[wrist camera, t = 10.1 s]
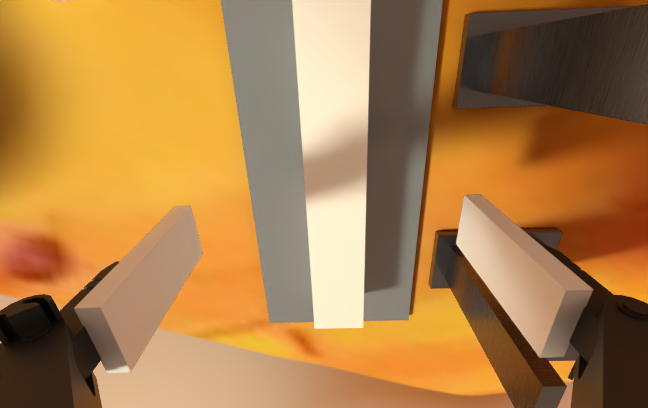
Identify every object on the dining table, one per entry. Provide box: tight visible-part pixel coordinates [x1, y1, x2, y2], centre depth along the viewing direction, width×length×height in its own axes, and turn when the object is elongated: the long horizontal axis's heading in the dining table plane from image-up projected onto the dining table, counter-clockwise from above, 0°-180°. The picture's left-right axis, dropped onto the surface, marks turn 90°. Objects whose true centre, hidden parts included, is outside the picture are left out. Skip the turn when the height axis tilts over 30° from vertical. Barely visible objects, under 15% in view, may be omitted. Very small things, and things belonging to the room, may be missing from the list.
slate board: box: [221, 0, 443, 323], centre depth 21 cm, size 12×26×1 cm, turn 2°
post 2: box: [429, 228, 579, 408], centre depth 19 cm, size 9×5×12 cm, turn 92°
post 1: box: [453, 4, 648, 125], centre depth 13 cm, size 9×5×12 cm, turn 92°
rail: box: [292, 0, 371, 329], centre depth 19 cm, size 4×20×4 cm, turn 2°
